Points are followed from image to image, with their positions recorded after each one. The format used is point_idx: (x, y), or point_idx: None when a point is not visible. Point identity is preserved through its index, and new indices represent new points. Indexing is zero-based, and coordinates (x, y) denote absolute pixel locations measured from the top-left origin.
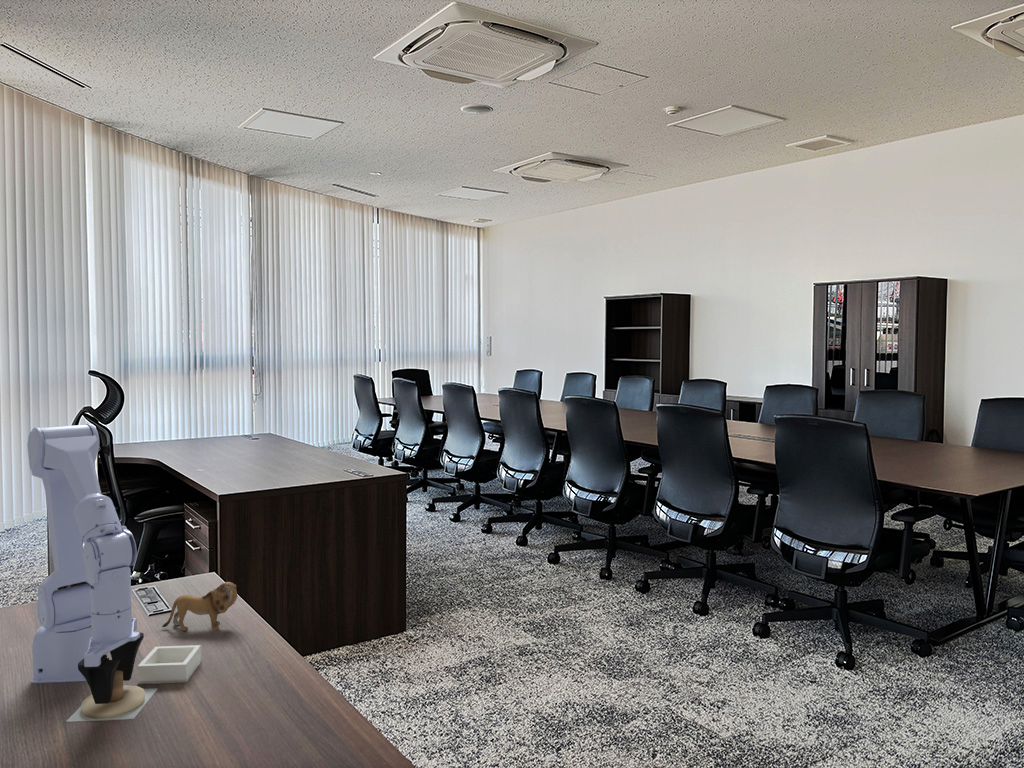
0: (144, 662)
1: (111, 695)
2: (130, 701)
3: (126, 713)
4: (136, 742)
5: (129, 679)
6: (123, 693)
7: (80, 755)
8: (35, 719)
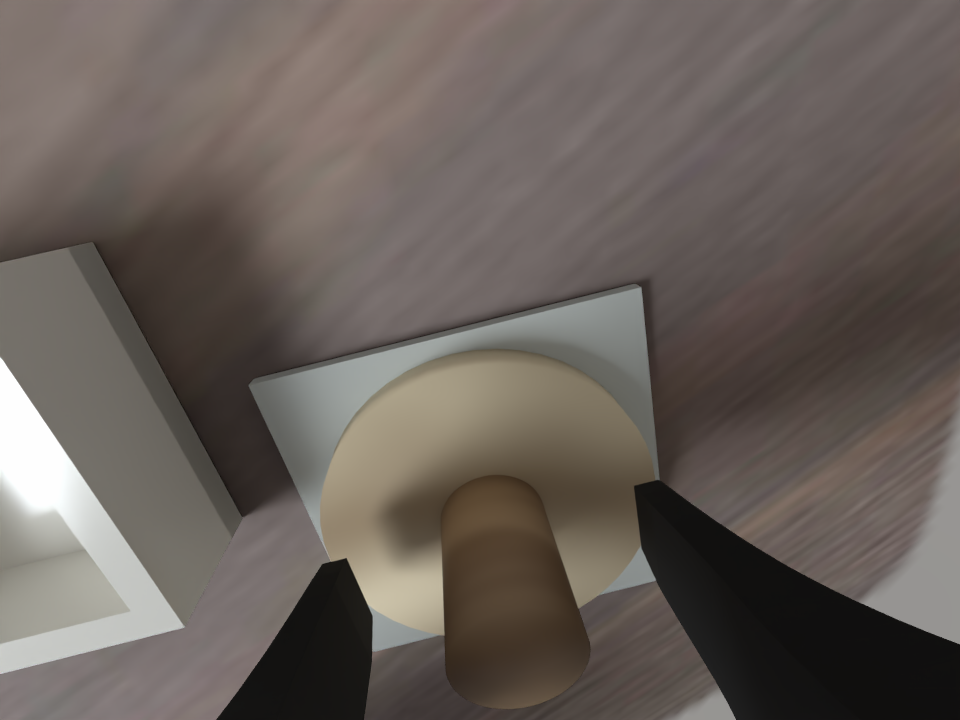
0: (107, 623)
1: (661, 502)
2: (518, 407)
3: (581, 367)
4: (881, 101)
5: (341, 562)
6: (429, 507)
7: (952, 330)
8: (622, 682)
